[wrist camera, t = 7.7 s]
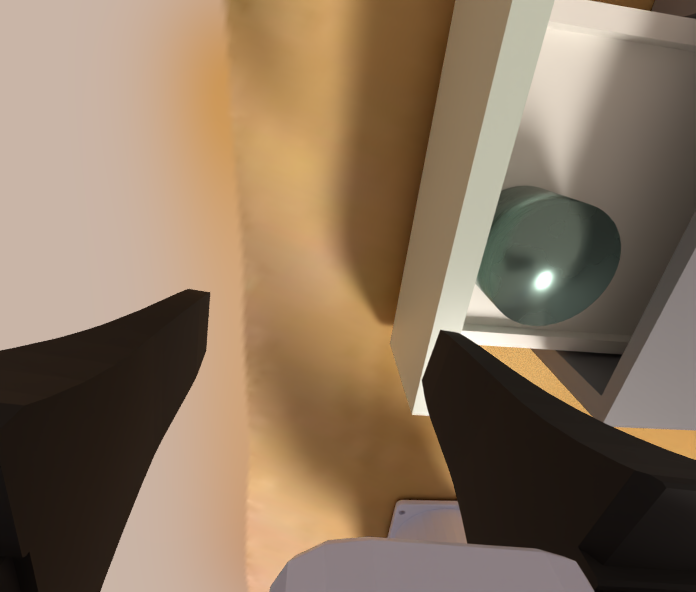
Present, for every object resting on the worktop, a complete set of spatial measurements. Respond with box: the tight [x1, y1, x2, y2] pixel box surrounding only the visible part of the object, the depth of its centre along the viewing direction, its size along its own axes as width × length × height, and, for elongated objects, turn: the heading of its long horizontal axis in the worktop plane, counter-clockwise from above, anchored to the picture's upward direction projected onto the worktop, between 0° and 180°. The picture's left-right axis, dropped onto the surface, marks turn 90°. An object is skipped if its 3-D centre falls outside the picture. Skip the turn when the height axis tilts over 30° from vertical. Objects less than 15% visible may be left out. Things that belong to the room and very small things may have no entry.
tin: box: [475, 185, 621, 326], centre depth 17 cm, size 5×5×4 cm
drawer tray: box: [390, 0, 696, 416], centre depth 16 cm, size 18×17×6 cm
